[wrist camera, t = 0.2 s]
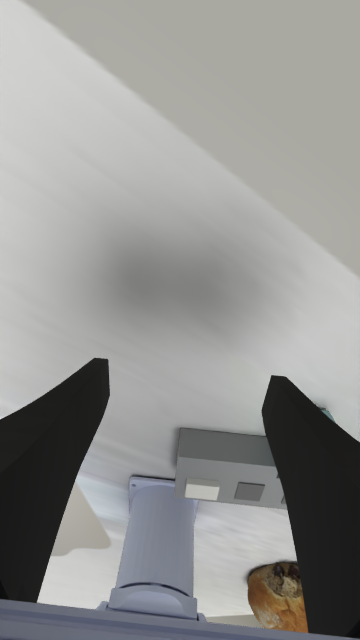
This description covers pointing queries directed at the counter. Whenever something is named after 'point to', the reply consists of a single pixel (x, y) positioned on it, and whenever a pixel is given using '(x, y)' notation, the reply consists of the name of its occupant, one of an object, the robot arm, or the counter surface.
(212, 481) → the power strip
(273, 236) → the counter surface
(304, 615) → the bread roll
